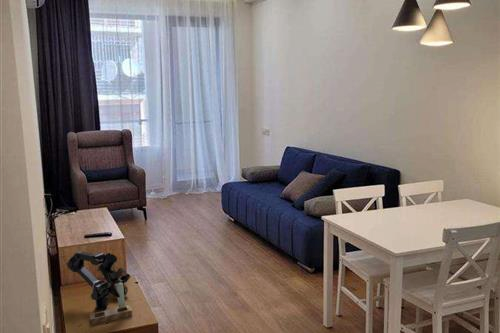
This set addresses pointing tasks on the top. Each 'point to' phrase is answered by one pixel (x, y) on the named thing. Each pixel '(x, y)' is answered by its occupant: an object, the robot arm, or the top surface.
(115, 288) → the tin
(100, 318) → the brown slotted board
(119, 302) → the post
